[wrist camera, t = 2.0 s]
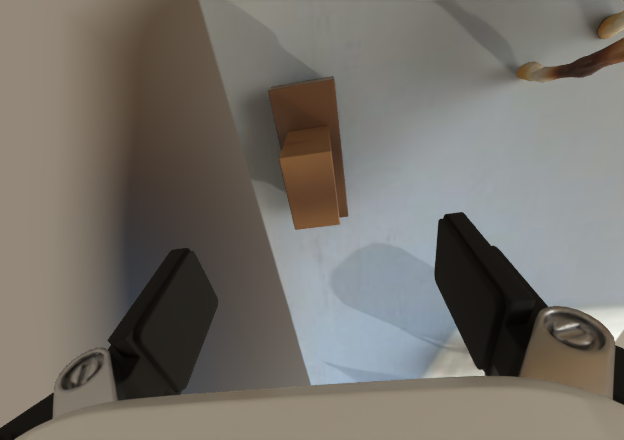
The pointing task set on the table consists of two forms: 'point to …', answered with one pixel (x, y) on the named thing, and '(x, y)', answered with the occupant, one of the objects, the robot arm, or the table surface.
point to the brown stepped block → (310, 151)
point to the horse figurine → (584, 65)
